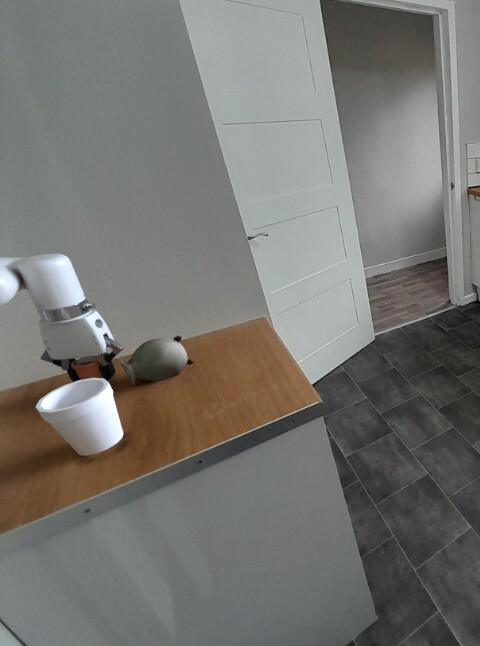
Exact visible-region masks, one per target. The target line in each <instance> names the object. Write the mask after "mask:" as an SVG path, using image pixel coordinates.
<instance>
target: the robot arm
mask: <svg viewBox="0 0 480 646" xmlns="http://www.w3.org/2000/svg"><path fill="white" fill-rule="evenodd" d="M23 290H27V291H28V295H29V296H30V299H31V300H32V303H33V304H34V307H35V309H36V311H37V313H38V315H39V317H40V319H39V321H38V325H39V326H38V327H39V332H40V337H41V339H42V342H43V345H44V348H45V349H44V351H43V352H42V354H41V356H40V360H41V361H44V362H48V363H51V364H52V365H55V366H57V367H59V368H60V369H61V370H62V371H66V372H67V375H68V377H69V379H70V380H71V381H72V383H73V382H76V381H79V377H78V375H77V373H76V371H75V369H73V368H72V367H71V363H72V362H74V361H75V360H77V359H79V358H82V357H90V356H94V357H95V358H96V360H97V361H98V362H99V363H100V364H101V366H100V367H99V369H100V371H101V373H102V376H103V378H104V379H105V380H106V381H108V380H109V381H110V380H111V379H112V378H113V377H114V376H115V375H116V373H117V371H116V368H115V366H114V363H113V360H114V359H115V358H116V356H118V355H119V354H120V353H121V352H122V351H123V350H125V345H123V344H121V343H120V342H117V340H115V338H114V336H113V334H112V332H111V330H110V328H109V326H108V325H107V323H106V321H105V320H104V318H103V317H102V315H101V314H100V313H99V312H98V311H97V310H96V308H97V305H96V303H95V302H89V300H88V298H86V295H85V293H84V290H83V288H82V286H81V283H80V280H79V278H78V276H77V273H76V271H75V269H74V266H73V264H72V261H71V259H70V258H69V257H68V256H67V255H64V254H62V253H43V254H37V255H32V256H26V257H24V256H23V257H0V307H1V306H3V305H6V304H8V303H9V302H10V301H11V300H12V299H13V298H14V296H16V294H17V293H19V292H21V291H23ZM107 348H110V349H111V350H112V351H109V350H108V349H107ZM109 381H108V382H109Z"/></svg>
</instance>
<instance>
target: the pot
mask: <svg viewBox="0 0 480 646" xmlns="http://www.w3.org/2000/svg"><path fill="white" fill-rule="evenodd" d="M100 366H101V364H100V363H99V362H98V361H97V360H96V358H95V357H94V356H90V357H82V358H76V360H75V361H74V362H72V363H71V367H72V368H73V369H75V371H76V373H77V375H78V377H79V380H84V379H90V378H103V376H102V373H101V371H100V369H99V367H100ZM108 382H110V380H108Z"/></svg>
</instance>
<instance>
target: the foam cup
mask: <svg viewBox="0 0 480 646" xmlns="http://www.w3.org/2000/svg"><path fill="white" fill-rule="evenodd" d="M113 390H114V389H112V386H111V383H110V381H106V380H105V379H104V378H90V379H84V380H79V381H76V382H73V381H72V382H70V383H67V384H64V385H62V386H59V387H58V388H56V389H53V390H52V391H51V390H50V392H47V394H45V395H44V396H43V397H41V398H40V399H39V400H38V402H37V403H36V405H35V409H36V410H37V412H38V414H39V415H40V417H41V418H42V419H43V420H44V421H45V422H46V423H49V424H50V425H51V426H52V428H53V429H55V431H56V433H58V434H59V435H60V436H61V437H62V438H63V439H64V441H66V443H68V444H69V445H70V447H71V448H72V449H73V450H74V451H75V452H76V453H77V454H78V455H79V456H85V457H88V456H92V455H97V454H100V453H102V452H104V451H106V450H109V449H111V448H112V447H113V446H115V445H116V444H118V443H119V442H120V441H121V440H122V439H123V436H124V430H123V427H122V423H121V420H120V415H119V413H118V409H117V404H116V402H115V398H114V391H113Z"/></svg>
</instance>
